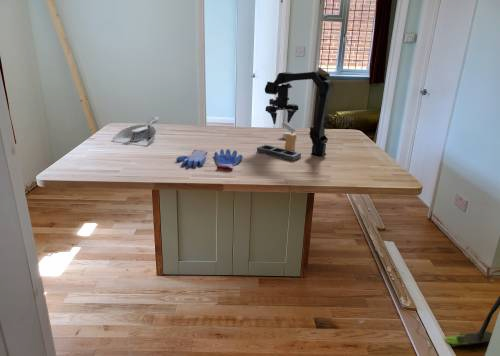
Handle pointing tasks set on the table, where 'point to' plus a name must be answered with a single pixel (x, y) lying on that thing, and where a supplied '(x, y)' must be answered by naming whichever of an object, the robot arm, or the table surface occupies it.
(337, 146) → the table surface
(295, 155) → the rail
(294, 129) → the wall hook
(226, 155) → the pair of gloves
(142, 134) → the dustpan and brush
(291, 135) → the orange peg
